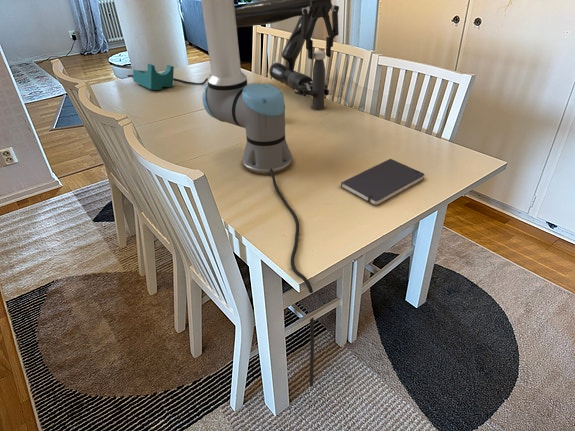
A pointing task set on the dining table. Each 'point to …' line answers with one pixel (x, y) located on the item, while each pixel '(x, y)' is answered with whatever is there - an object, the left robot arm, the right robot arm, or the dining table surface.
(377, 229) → the dining table surface
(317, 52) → the cap
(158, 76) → the teal notched cradle block
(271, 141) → the right robot arm
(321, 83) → the bottle
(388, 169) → the notebook
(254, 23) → the left robot arm
